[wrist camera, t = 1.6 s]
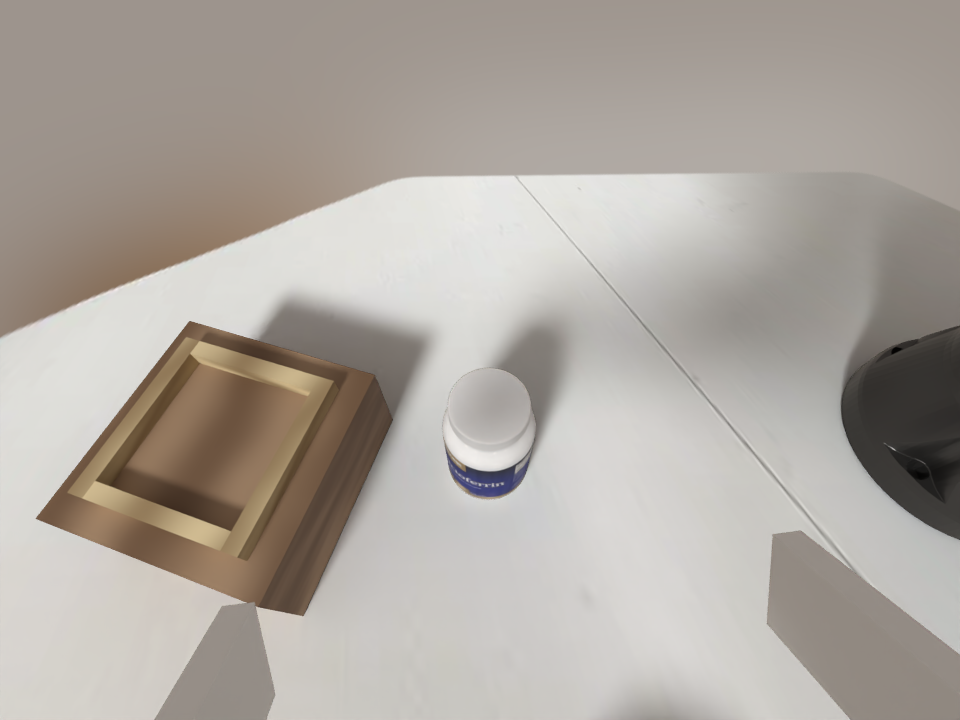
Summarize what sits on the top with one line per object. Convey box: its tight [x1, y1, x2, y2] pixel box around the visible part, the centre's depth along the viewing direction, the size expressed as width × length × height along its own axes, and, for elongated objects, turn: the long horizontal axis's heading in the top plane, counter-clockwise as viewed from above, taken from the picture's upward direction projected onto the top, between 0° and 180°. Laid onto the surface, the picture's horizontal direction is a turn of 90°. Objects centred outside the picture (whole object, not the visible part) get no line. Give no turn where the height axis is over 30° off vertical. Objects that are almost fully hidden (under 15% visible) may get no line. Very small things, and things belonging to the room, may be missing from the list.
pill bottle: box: [442, 368, 536, 500], centre depth 31 cm, size 6×6×10 cm
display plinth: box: [36, 321, 393, 616], centre depth 31 cm, size 14×14×8 cm
